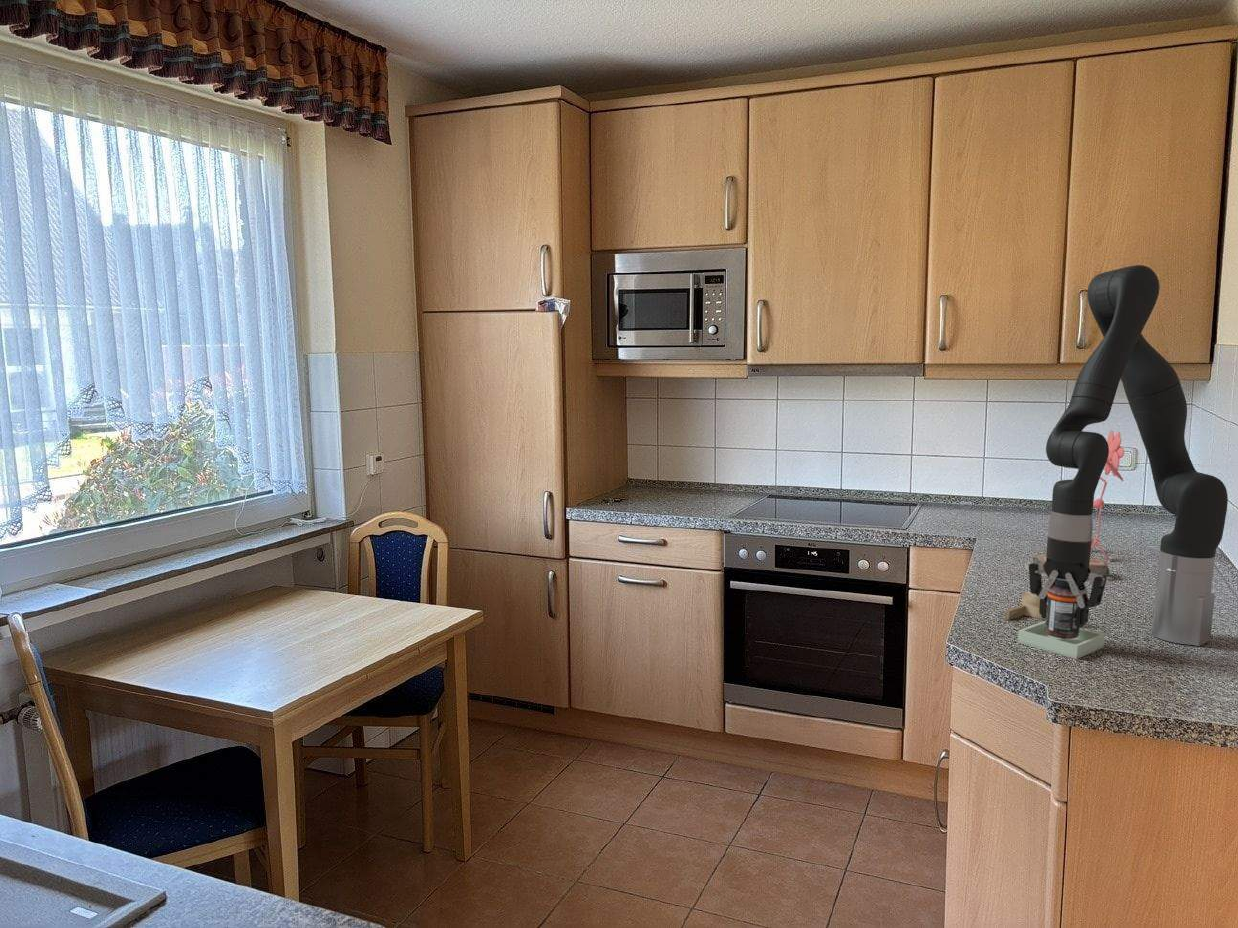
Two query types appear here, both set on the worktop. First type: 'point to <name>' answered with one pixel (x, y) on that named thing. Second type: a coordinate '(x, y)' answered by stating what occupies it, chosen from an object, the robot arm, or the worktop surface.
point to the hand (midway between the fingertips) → (1062, 621)
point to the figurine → (1110, 465)
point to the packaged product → (1095, 566)
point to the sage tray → (1061, 641)
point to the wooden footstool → (1025, 607)
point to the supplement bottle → (1061, 611)
